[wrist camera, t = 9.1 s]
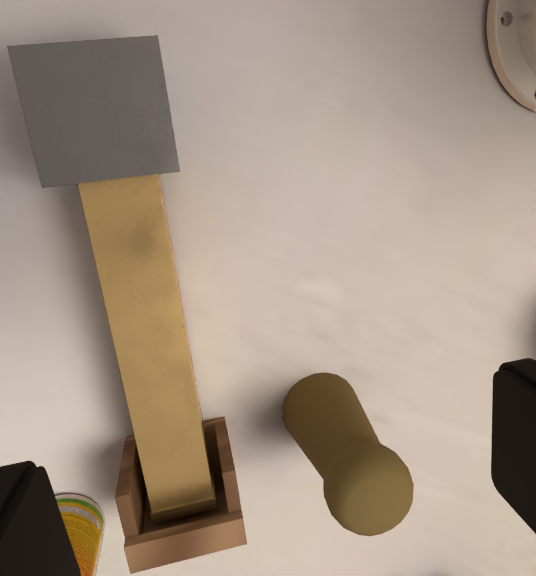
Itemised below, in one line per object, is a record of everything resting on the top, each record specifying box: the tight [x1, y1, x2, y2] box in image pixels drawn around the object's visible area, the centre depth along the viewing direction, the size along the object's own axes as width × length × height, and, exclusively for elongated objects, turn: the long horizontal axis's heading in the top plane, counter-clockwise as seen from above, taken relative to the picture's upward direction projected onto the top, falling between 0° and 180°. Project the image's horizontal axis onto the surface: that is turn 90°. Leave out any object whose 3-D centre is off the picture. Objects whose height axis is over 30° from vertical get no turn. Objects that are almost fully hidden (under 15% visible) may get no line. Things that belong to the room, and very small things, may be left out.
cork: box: [283, 373, 413, 536], centre depth 30 cm, size 6×6×11 cm
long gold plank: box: [78, 174, 217, 524], centre depth 28 cm, size 4×24×4 cm, turn 7°
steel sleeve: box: [7, 35, 180, 188], centre depth 24 cm, size 6×6×7 cm
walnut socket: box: [115, 417, 247, 574], centre depth 30 cm, size 7×5×7 cm
